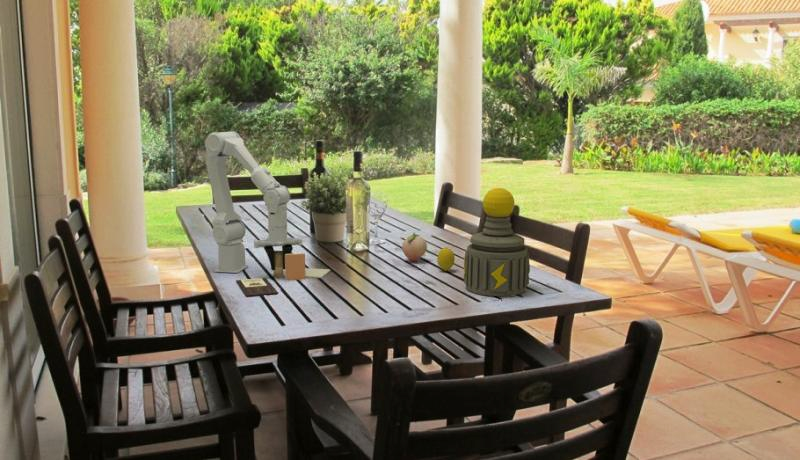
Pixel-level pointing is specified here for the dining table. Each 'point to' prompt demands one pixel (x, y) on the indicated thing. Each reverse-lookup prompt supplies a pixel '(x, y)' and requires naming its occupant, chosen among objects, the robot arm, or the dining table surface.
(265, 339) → the dining table surface
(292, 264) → the tile
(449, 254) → the lemon
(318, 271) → the mat
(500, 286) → the decorative lamp
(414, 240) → the decorative fruit
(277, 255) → the dowel
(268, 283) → the chocolate bar
